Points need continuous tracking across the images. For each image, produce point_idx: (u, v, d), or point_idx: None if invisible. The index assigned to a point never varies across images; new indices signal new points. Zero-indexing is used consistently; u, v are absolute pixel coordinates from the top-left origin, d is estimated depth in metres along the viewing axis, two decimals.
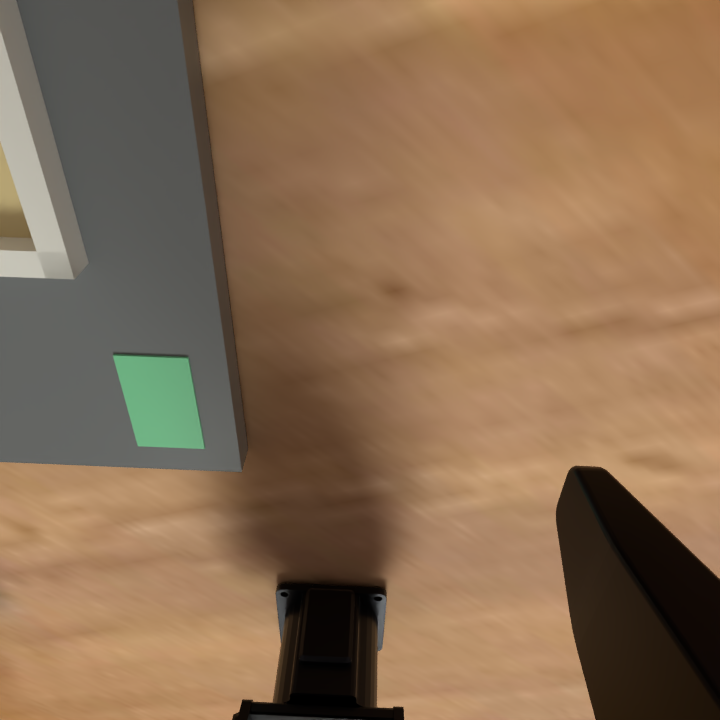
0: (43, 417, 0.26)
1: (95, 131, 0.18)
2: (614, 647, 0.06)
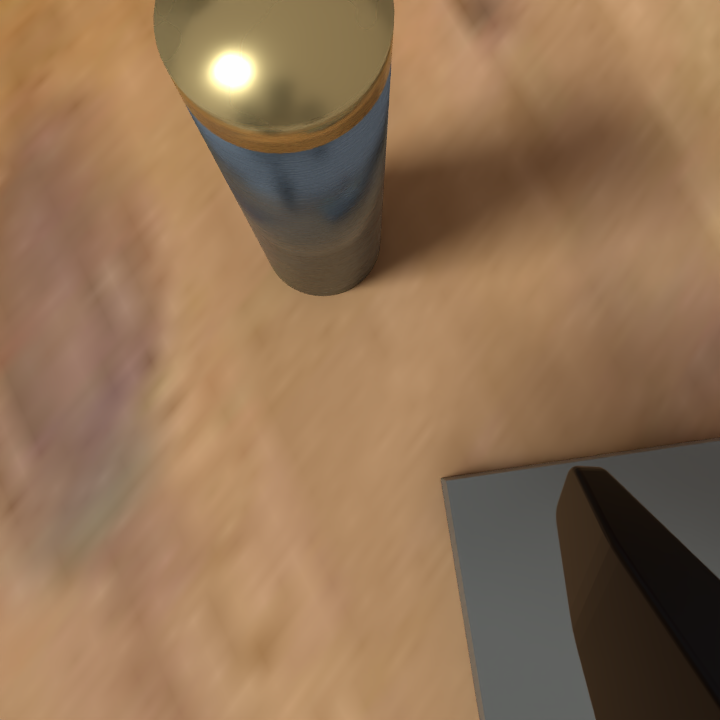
0: None
1: None
2: (614, 647, 0.06)
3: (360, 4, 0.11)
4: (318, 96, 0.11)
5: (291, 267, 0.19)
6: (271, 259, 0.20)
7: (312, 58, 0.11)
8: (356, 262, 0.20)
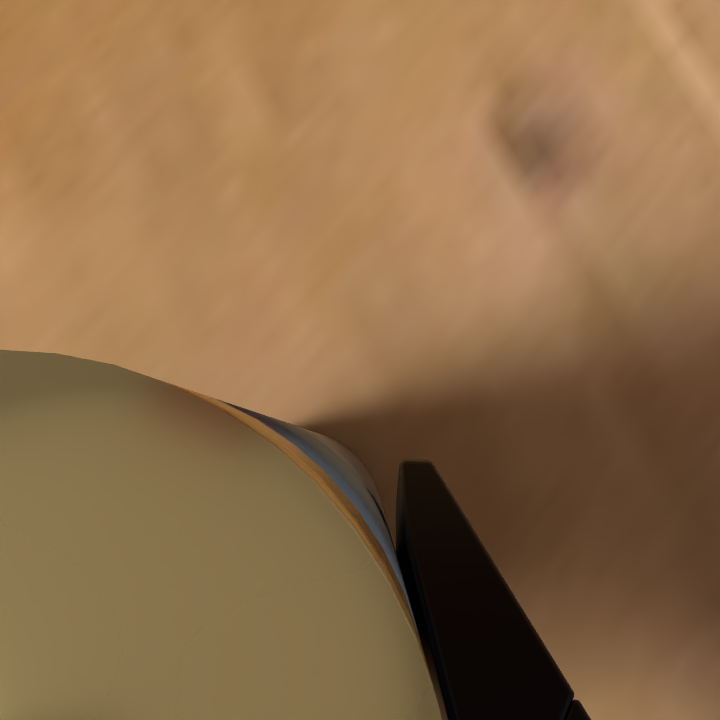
0: None
1: None
2: None
3: None
4: None
5: None
6: None
7: None
8: None
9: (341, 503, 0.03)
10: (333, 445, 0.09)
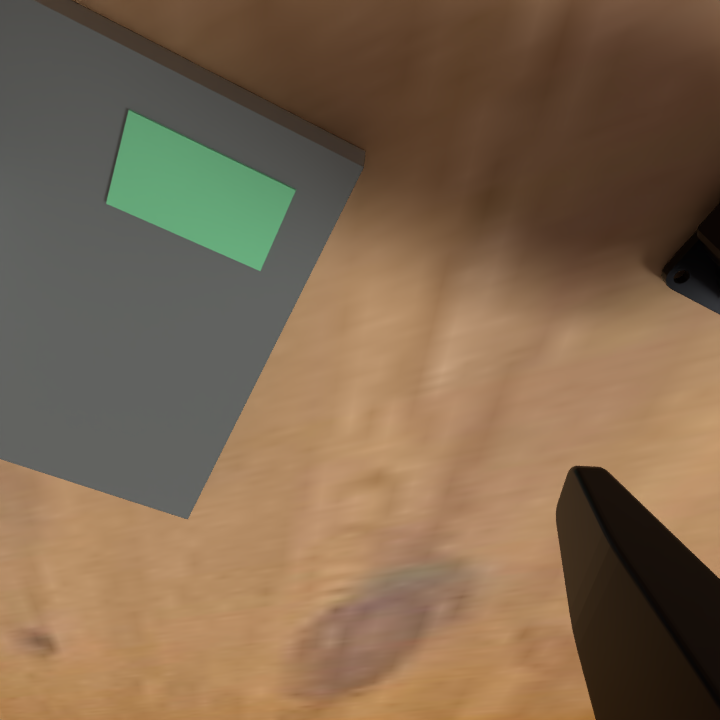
0: (184, 340, 0.21)
1: None
2: (614, 647, 0.06)
3: None
4: None
5: None
6: None
7: None
8: None
9: None
10: None
